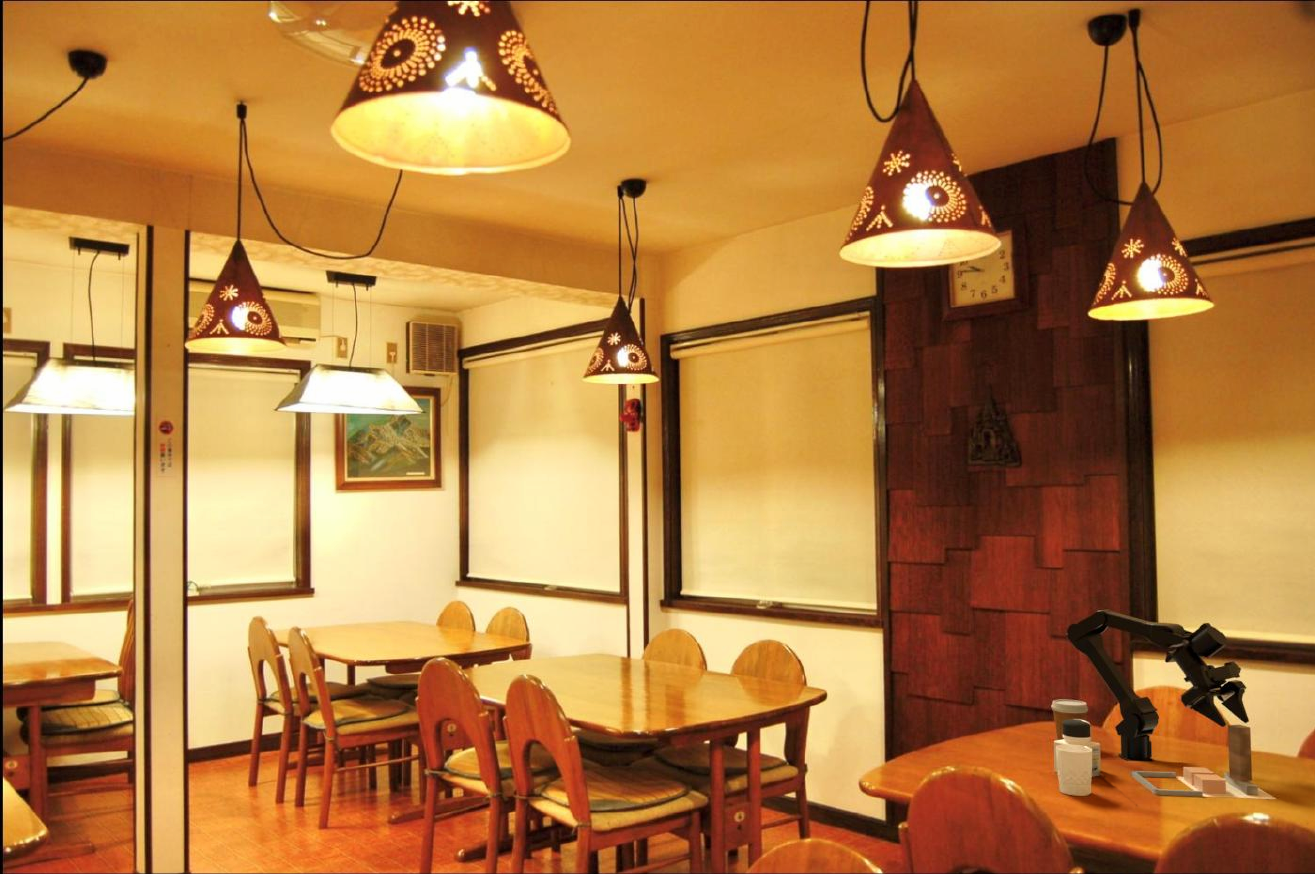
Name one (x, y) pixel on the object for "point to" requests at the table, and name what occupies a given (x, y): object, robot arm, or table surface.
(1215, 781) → the tile
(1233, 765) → the upright brown post
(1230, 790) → the board
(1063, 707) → the disposable coffee cup
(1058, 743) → the container
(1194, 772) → the tile
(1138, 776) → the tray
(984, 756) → the table surface
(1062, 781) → the white cup
